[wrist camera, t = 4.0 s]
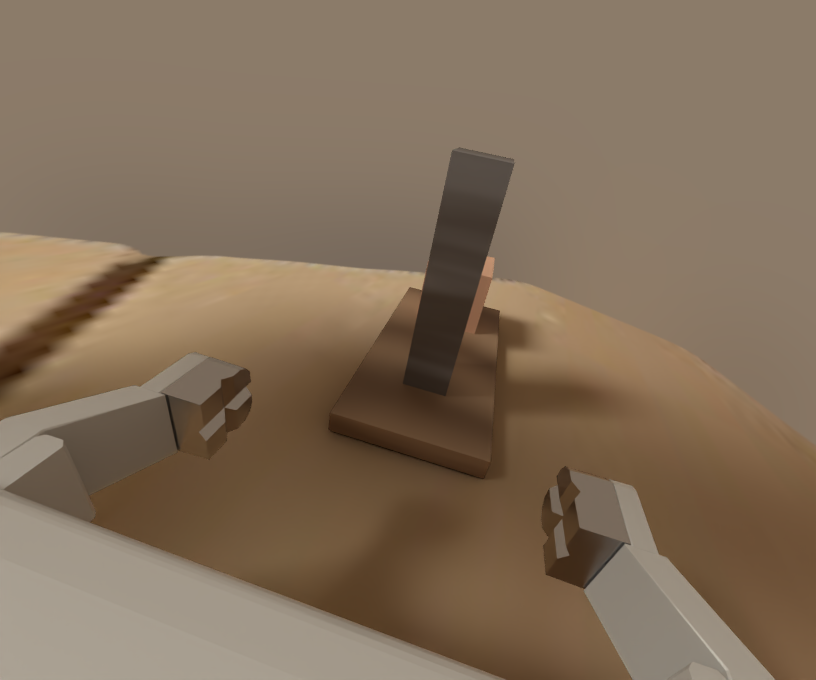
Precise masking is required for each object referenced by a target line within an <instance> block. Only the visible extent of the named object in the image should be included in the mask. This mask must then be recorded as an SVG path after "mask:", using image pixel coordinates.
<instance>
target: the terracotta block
mask: <svg viewBox="0 0 816 680" xmlns="http://www.w3.org/2000/svg"><path fill="white" fill-rule="evenodd" d="M428 262H429V261H428ZM427 267H428V265H427ZM493 268H494V258H492V257H488V256H487V258H486V261H485V265H484V268H483V271H482V275H481V278H480V281H479V285H478V288H477V292H476V295H475V298H474V302H473V305H472V308H471V312H470V315H469V319H468V322H467V325H466V329H465V332H469V333H472V334H475V331H476V328H477V325H478V322H479V318H480V315H481V312H482V309H483V306H484V303H485V299H486V296H487V293H488V290H489V287H490V283H491V280H492V275H493ZM426 271H427V269H426ZM425 276H426V274H425ZM424 281H425V278H424ZM423 285H424V283H423ZM422 290H423V288H422ZM421 295H422V292H421ZM420 300H421V297H420ZM419 304H420V302H419ZM418 309H419V307H418ZM417 314H418V311H417ZM416 318H417V316H416Z"/></svg>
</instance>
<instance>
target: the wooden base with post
mask: <svg viewBox="0 0 816 680" xmlns="http://www.w3.org/2000/svg"><path fill="white" fill-rule="evenodd" d="M513 167H514V159H510V158H506V157H501V156H496V155H492V154H487V153H482V152H478V151H473V150H468V149H463V148H457V149H454V150H453V151H452V153H451V158H450V163H449V168H448V172H447V177H446V182H445V186H444V191H443V196H442V201H441V206H440V210H439V215H438V219H437V224H436V229H435V234H434V238H433V243H432V248H431V252H430V257H429V262H428V267H427V271H426V276H425V281H424V285H423V290H419V289H415V288H411V287H410V288H409V289H408V291H407V292H406V294H405V295H404V297H403V299H402V300H401V302H400V303H399V305H398V306H397V308H396V310H395V311H394V313H393V314H392V316H391V318H390V319H389V321H388V322H387V324H386V325H385V327H384V329H383V330H382V332H381V333H380V335H379V336H378V338H377V340H376V341H375V343H374V344H373V346H372V347H371V349H370V351H369V352H368V354H367V355H366V357H365V359H364V360H363V362H362V363H361V365H360V366H359V368H358V370H357V371H356V373H355V374H354V376H353V377H352V379H351V381H350V382H349V384H348V385H347V387H346V388H345V390H344V392H343V393H342V395H341V396H340V398H339V399H338V401H337V403H336V404H335V406H334V407H333V409H332V411H331V412H330V420H329V430H330V431H333V432H337V433H340V434H343V435H346V436H349V437H352V438H356V439H359V440H362V441H365V442H368V443H372V444H375V445H378V446H381V447H384V448H387V449H391V450H394V451H397V452H400V453H403V454H406V455H410V456H413V457H416V458H419V459H422V460H425V461H429V462H432V463H435V464H438V465H441V466H445V467H448V468H451V469H454V470H457V471H460V472H464V473H467V474H470V475H473V476H476V477H479V478H483V479H484V477H485V474H486V472H487V470H488V467H489V465H490V463H491V449H492V432H493V415H494V398H495V381H496V364H497V347H498V330H499V313H500V311H499V310H495V309H491V308H487V307H484V306H483V309H482V312H481V315H480V318H479V322H478V325H477V328H476V331H475V334H472V333H469V332H465V329H466V325H467V322H468V319H469V315H470V312H471V308H472V305H473V302H474V298H475V295H476V292H477V288H478V285H479V281H480V278H481V275H482V271H483V268H484V265H485V261H486V258H487V255H488V251H489V247H490V244H491V241H492V238H493V234H494V231H495V228H496V224H497V221H498V217H499V214H500V211H501V207H502V204H503V200H504V197H505V194H506V190H507V187H508V184H509V180H510V177H511V174H512V170H513ZM421 292H422V295H421ZM420 297H421V300H420ZM419 302H420V304H419ZM418 307H419V309H418ZM417 311H418V314H417ZM416 316H417V318H416Z"/></svg>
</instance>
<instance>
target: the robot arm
mask: <svg viewBox="0 0 816 680" xmlns="http://www.w3.org/2000/svg"><path fill="white" fill-rule="evenodd" d="M250 382H251V379H250V371H248V370H247V369H245V368H242V367H239V366H236V365H233V364H230V363H227V362H224V361H221V360H218V359H215V358H211V357H208V356H205V355H202V354H199V353H196V352H194V353H188V354H187V355H186V356H184V357H183V358H181V359H180V360H178V361H177V362H175V363H174V364H172V365H171V366H170V367H168V368H167V369H165V370H164V371H162V372H161V373H159V374H158V375H156V376H155V377H154V378H152V379H151V380H149V381H148V382H146V383H145V384H143V385H142V386H140V387H139V386H136V385H133V386H129V387H125V388H121V389H117V390H113V391H109V392H105V393H102V394H98V395H94V396H90V397H86V398H82V399H78V400H74V401H70V402H66V403H62V404H59V405H55V406H51V407H47V408H43V409H39V410H35V411H31V412H27V413H23V414H19V415H15V416H12V417H8V418H5V419H3V420H2V421H0V680H506V679H503V678H501V677H498V676H496V675H493V674H490V673H488V672H485V671H482V670H480V669H477V668H474V667H472V666H469V665H466V664H464V663H461V662H458V661H456V660H453V659H451V658H448V657H445V656H443V655H440V654H437V653H435V652H432V651H429V650H427V649H424V648H421V647H419V646H416V645H413V644H411V643H408V642H406V641H403V640H400V639H398V638H395V637H392V636H390V635H387V634H384V633H382V632H379V631H376V630H374V629H371V628H368V627H366V626H363V625H361V624H358V623H355V622H353V621H350V620H347V619H345V618H342V617H339V616H337V615H334V614H331V613H329V612H326V611H323V610H321V609H318V608H316V607H313V606H310V605H308V604H305V603H302V602H300V601H297V600H294V599H292V598H289V597H286V596H284V595H281V594H278V593H276V592H273V591H271V590H268V589H265V588H263V587H260V586H257V585H255V584H252V583H249V582H247V581H244V580H241V579H239V578H236V577H233V576H231V575H228V574H226V573H223V572H220V571H218V570H215V569H212V568H210V567H207V566H204V565H202V564H199V563H196V562H194V561H191V560H188V559H186V558H183V557H180V556H178V555H175V554H172V553H170V552H167V551H165V550H162V549H159V548H157V547H154V546H151V545H149V544H146V543H143V542H141V541H138V540H135V539H133V538H130V537H127V536H125V535H122V534H119V533H117V532H114V531H111V530H109V529H106V528H103V527H101V526H98V525H96V524H93V523H90V522H91V521H92V520H93V519H94V518H95V514H96V510H95V508H94V506H93V504H92V502H91V499H90V497H89V495H91V494H93V493H95V492H97V491H99V490H101V489H103V488H105V487H108V486H110V485H112V484H114V483H116V482H118V481H120V480H122V479H124V478H126V477H128V476H130V475H132V474H134V473H136V472H138V471H140V470H142V469H144V468H146V467H148V466H151V465H153V464H155V463H157V462H159V461H161V460H163V459H165V458H167V457H169V456H171V455H173V454H175V453H177V452H178V450H179V451H182V452H185V453H188V454H192V455H195V456H198V457H201V458H205V459H208V460H210V459H211V457H212V456H213V455H214V454H215V453H216V452H217V451H218V450H219V449H220V448H221V447H222V446H223V444H224V443H225V442H226V441H227V433H228V432H230V431H233V430H235V429H238V428H239V427H240V426H241V425H242V423H243V422H244V421H245V420H246V418H247V416H248V414H249V412H250V409H251V404H252V395H251V393H250V392H249V390H248V389H247V387H246V386H247V385H248V384H249V383H250ZM557 483H558V485H557V486H554V487H552V488H549V490H548V492H547V494H546V496H545V498H544V502H543V506H542V513H541V522H542V529H543V530H544V532H545V533H546V535H547V536H548V539H547V541H546V542H545V544H544V545H543V549H544V561H545V573H546V575H548V576H551V577H553V578H556V579H559V580H562V581H564V582H567V583H570V584H572V585H575V586H578V587H580V588H583V589H585V590H584V592H585V594H586V596H587V598H588V600H589V601H590V603H591V605H592V607H593V609H594V611H595V612H596V614H597V616H598V618H599V620H600V621H601V623H602V625H603V627H604V629H605V630H606V632H607V634H608V636H609V638H610V640H611V641H612V643H613V645H614V647H615V649H616V650H617V652H618V654H619V656H620V658H621V659H622V661H623V663H624V665H625V667H626V669H627V670H628V672H629V674H630V676H631V678H632V679H633V680H775V679H774V678H773V677H772V675H771V674H770V673H769V672H768V671H767V670H766V669H765V668H764V666H763V665H762V664H761V663H760V662H759V661H758V660H757V659H756V657H755V656H754V655H753V654H752V653H751V652H750V651H749V650H748V648H747V647H746V646H745V645H744V644H743V643H742V642H741V641H740V639H739V638H738V637H737V636H736V635H735V634H734V633H733V632H732V630H731V629H730V628H729V627H728V626H727V625H726V624H725V623H724V621H723V620H722V619H721V618H720V617H719V616H718V615H717V614H716V612H715V611H714V610H713V609H712V608H711V607H710V606H709V605H708V603H707V602H706V601H705V600H704V599H703V598H702V597H701V596H700V594H699V593H698V592H697V591H696V590H695V589H694V588H693V587H692V585H691V584H690V583H689V582H688V581H687V580H686V579H685V578H684V576H683V575H682V574H681V573H680V572H679V571H678V570H677V569H676V567H675V566H674V565H673V564H672V563H671V562H670V561H669V560H668V558H667V557H664V556H661V555H659V553H658V550H657V547H656V545H655V542H654V539H653V536H652V533H651V531H650V528H649V525H648V522H647V519H646V516H645V514H644V511H643V508H642V505H641V502H640V500H639V497H638V494H637V491H636V490H635V488H634V487H633V486H631V485H628V484H624V483H621V482H617V481H614V480H610V479H606V478H603V477H600V476H596V475H593V474H590V473H586V472H583V471H579V470H576V469H573V468H569V467H566V466H565V467H564V468H562V469H561V470H560V472H559V473H558V475H557Z"/></svg>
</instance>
